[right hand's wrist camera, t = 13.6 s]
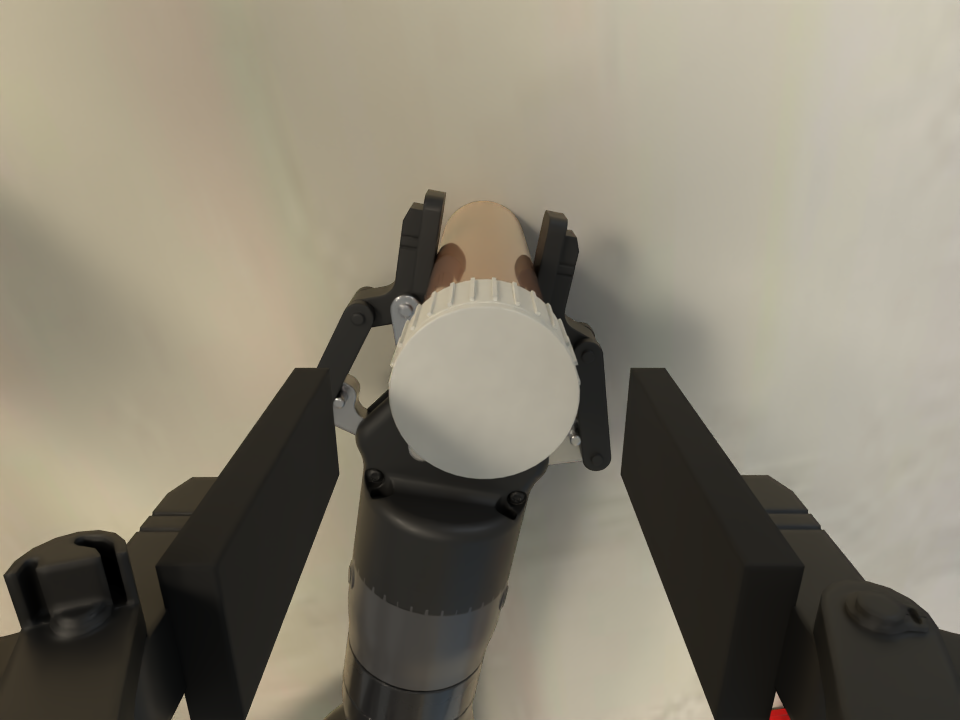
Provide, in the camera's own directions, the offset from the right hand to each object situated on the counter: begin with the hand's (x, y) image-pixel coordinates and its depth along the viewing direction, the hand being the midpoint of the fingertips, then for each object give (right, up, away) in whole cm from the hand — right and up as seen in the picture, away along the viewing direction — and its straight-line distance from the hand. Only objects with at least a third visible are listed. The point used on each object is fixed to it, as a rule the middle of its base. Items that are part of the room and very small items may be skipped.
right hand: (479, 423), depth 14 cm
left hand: (+1, +7, +10) cm, 12 cm away
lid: (0, +1, +1) cm, 1 cm away
